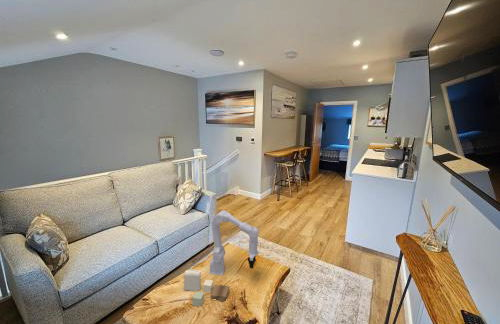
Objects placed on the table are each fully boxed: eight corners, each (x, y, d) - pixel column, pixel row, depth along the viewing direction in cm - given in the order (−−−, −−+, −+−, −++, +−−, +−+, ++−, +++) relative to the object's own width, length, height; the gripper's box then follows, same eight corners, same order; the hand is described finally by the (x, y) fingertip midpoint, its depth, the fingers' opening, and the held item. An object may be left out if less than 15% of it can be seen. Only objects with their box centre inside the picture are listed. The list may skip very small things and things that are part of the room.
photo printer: (183, 290, 125) (183, 272, 124) (185, 285, 130) (185, 267, 128) (199, 291, 125) (200, 272, 124) (201, 286, 130) (201, 268, 128)
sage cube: (192, 305, 114) (192, 297, 114) (195, 299, 119) (196, 291, 119) (200, 307, 114) (200, 299, 113) (203, 300, 119) (204, 292, 118)
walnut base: (210, 300, 119) (210, 295, 119) (215, 289, 128) (215, 284, 128) (225, 301, 118) (225, 296, 117) (229, 290, 127) (229, 286, 126)
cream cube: (202, 292, 125) (203, 284, 124) (205, 286, 130) (205, 279, 129) (210, 293, 124) (210, 286, 124) (213, 287, 129) (213, 280, 129)
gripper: (258, 252, 130) (256, 272, 131) (259, 241, 144) (258, 259, 146) (247, 250, 131) (246, 270, 132) (250, 240, 145) (249, 258, 147)
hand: (252, 264), depth 139 cm, fingers open, 7 cm apart
